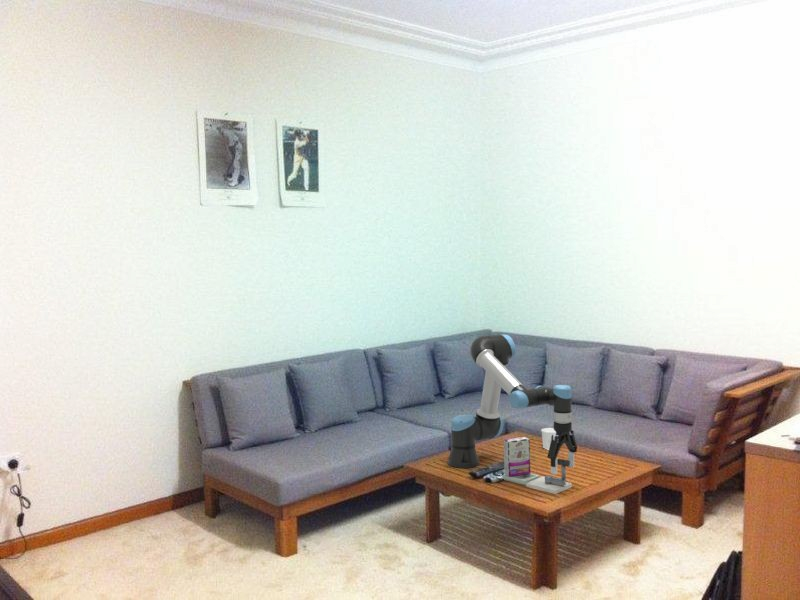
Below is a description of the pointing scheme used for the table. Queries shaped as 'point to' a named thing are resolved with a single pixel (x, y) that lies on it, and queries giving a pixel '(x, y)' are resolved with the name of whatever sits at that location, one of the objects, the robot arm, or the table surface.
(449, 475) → the table surface
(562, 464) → the crank
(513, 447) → the candy bar box
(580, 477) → the table surface
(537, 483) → the crank base
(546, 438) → the cup
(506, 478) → the tray
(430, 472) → the table surface
